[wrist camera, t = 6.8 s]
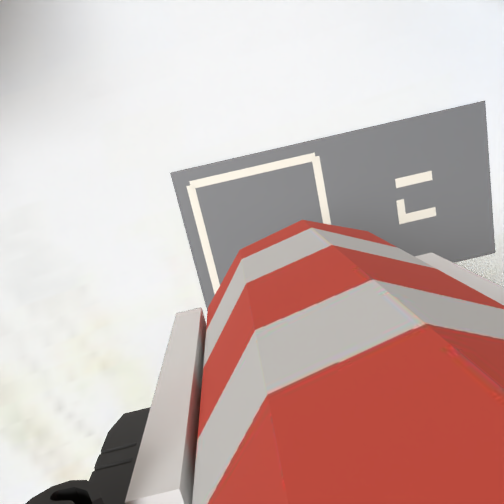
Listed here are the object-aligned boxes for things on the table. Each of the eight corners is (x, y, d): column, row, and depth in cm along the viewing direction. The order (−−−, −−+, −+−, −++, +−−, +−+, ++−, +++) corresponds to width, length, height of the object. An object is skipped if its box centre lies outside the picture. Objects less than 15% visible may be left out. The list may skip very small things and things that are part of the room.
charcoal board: (209, 317, 27) (209, 319, 27) (170, 172, 25) (170, 172, 25) (493, 252, 28) (495, 252, 27) (483, 101, 25) (485, 100, 25)
